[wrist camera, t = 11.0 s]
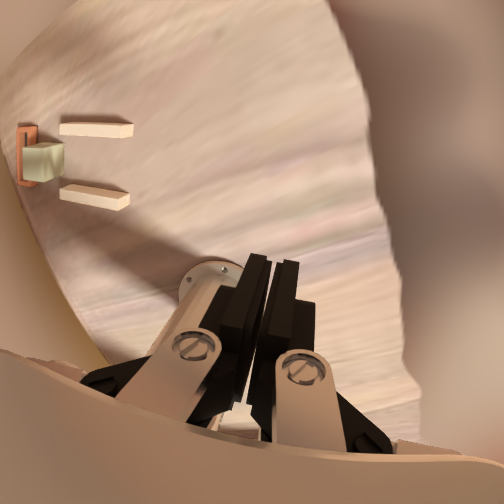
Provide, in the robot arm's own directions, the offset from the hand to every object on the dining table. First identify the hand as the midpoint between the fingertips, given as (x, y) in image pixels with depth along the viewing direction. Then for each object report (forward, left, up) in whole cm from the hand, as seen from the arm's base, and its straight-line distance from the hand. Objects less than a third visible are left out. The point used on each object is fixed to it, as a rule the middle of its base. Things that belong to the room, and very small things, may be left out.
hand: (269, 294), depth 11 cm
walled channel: (-3, +27, -27) cm, 39 cm away
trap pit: (-3, +43, -27) cm, 51 cm away
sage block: (-3, +37, -27) cm, 46 cm away
